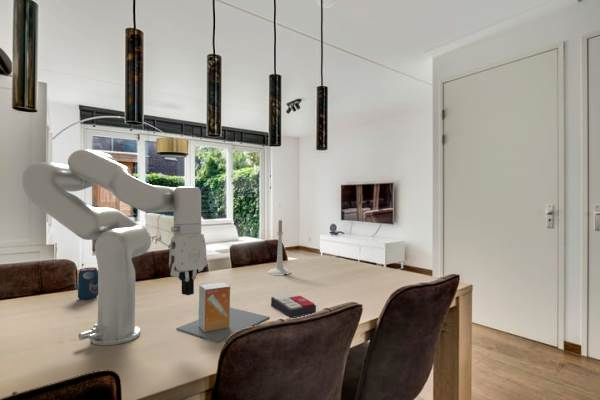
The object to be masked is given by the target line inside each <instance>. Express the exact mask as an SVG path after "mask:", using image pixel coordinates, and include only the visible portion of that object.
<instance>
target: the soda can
mask: <svg viewBox="0 0 600 400" xmlns="http://www.w3.org/2000/svg"><path fill="white" fill-rule="evenodd" d="M77 298H78V300H79V301H83V302H85V301H86V302H87V300H88V301H92V300H96V299H97V298H98V267H84V268H80V269H79V271H78V274H77ZM95 298H96V299H95Z"/></svg>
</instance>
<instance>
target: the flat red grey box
mask: <svg viewBox="0 0 600 400" xmlns="http://www.w3.org/2000/svg"><path fill="white" fill-rule="evenodd" d="M270 298H271V299H270V300H271V301H270V306H271V308H274V309H275V310H278V311H279V312H281V313H282V314H283V315H286V316H287V317H288V316H289V318H294V316H296V317H300V316H304V315H310V313H311V314H315V313H316V312H317V305H316V304H315V303H314V302H313V301H311V300H308V299H307V298H305V297H303V296H302V295H299V294H298V293H295V292H293V293H287V294H281V295H275V296H272V297H270ZM314 312H315V313H314ZM303 314H304V315H303Z"/></svg>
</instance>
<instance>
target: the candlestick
mask: <svg viewBox="0 0 600 400" xmlns="http://www.w3.org/2000/svg"><path fill="white" fill-rule="evenodd" d="M277 230H278V231H276V233H277V237H278V241H277V251H276V253H277V254H276V257H277V258H276V267H274V268H272V269H270V270H268V272H267V273H270V274H287V273H290V272H291V270H290V269H287V268H285V267H284V264H283V263H284V262H283V259H284V258H283V238H282V237H283V234H284V231H283V220H282V219H280V220H278V229H277ZM291 273H292V272H291ZM270 274H269V275H270Z"/></svg>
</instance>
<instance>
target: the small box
mask: <svg viewBox="0 0 600 400" xmlns="http://www.w3.org/2000/svg"><path fill="white" fill-rule="evenodd" d="M198 286H199V287H198V288H199V289H198V320H199V327H200V328H201V329H202V330H203V331H204V332H208V331H213V330H218V329H223V328H229V318H230V308H231V285H228V284H227V283H225V282H214V283H209V284H200V285H198Z"/></svg>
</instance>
